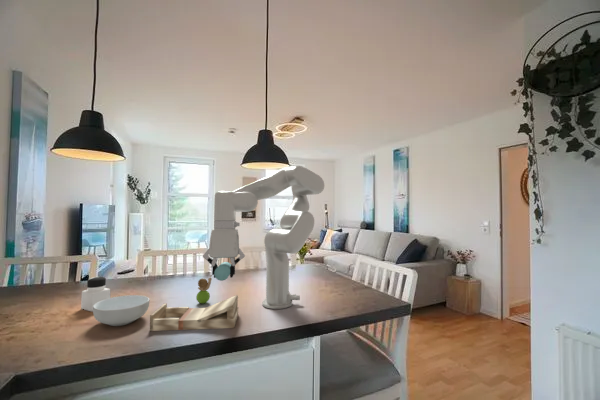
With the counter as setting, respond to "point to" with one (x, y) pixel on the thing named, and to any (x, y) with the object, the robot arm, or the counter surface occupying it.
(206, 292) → the snail figurine
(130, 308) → the cereal bowl
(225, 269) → the roller
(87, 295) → the medicine bottle
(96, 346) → the counter surface
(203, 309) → the launch ramp
